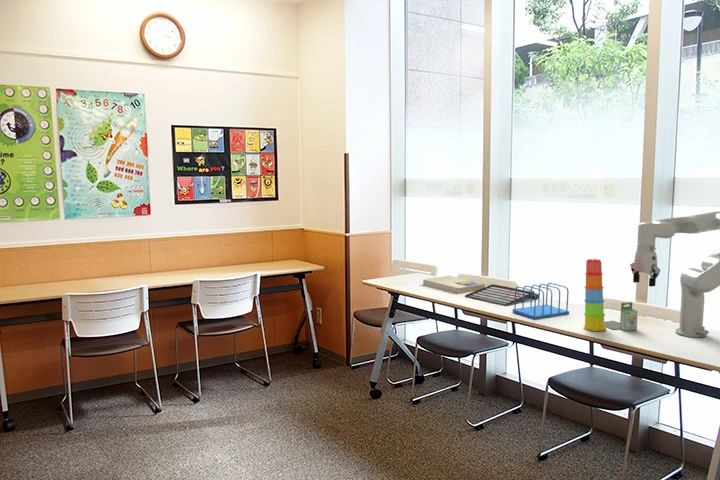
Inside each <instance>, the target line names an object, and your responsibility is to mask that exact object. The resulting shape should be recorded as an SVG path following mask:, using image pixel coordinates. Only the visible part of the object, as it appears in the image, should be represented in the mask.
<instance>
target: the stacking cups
mask: <svg viewBox="0 0 720 480" xmlns="http://www.w3.org/2000/svg"><path fill="white" fill-rule="evenodd" d="M585 264H586V265H585V268H586V269H585V273H584V274H585V285H584V289H585V291H584V292H585V294H584V295H585V298H584V300H583V301H584V306H585V307H584V313H583V315H584V325H583V326H582V327H583V329H584V330H586V331H592V332H603V331H606V329H607V328H606V327H604V322H605V316H606V314H605V312H604V310H605V307H604V303H605V300H604V292H603V291H604V290H603V289H604V286H603V270H602V267H603V266H602V261H601V259H596V258H593V259H587V260H586V263H585Z"/></svg>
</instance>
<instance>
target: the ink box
mask: <svg viewBox="0 0 720 480" xmlns="http://www.w3.org/2000/svg"><path fill="white" fill-rule="evenodd" d="M620 304H621V305H620V322H619V323H620V329H619V330H621V331H623V332H631V331H637V330H638V313H639V311H638V310H636V309H633V301H629V302H621V303H620ZM625 305H627V306H625Z"/></svg>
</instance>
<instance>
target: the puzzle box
mask: <svg viewBox="0 0 720 480" xmlns="http://www.w3.org/2000/svg"><path fill="white" fill-rule="evenodd" d="M422 280H423V281H422V282H423V283H422V284H423V285H422V286H427V287H429V288H434V289H437V290H441V291H445V292H450V293H453V294H458V295H460V294H465V293H467V294H468V293H472V292H474V291H477V290H479V289H482V288H484V287H486V284H485V283H482V282H478V281H474V280H470V279H465V278H461V277H457V276H452V275H445V276H440V277H439V276H438V277H433V278H426V279H422Z"/></svg>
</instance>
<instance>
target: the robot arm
mask: <svg viewBox="0 0 720 480" xmlns="http://www.w3.org/2000/svg"><path fill="white" fill-rule="evenodd" d="M718 230H720V210H717V211H711V212H706V213H700V214H699V213H698V214H694V215H684V216H677V217H668V218H664V219H657V220H654V221H652V222H650V221H648V222H647V221H641V222H640V223H638V226H637V246H636V252H635V255H634V259H633V261H634V262H632V263H630V264H629V265H630V269H631V270H630V271H631V273H632V275H633V276H632V277H633V278H632V282H633V283H634V284H635V283H640V280H641V279H640V276H641V275H640V273H643V274H648V275H649V280H648V286H649V287H652V288H653V287H656V279H657V278H658V276H659V275H660V273H661V269H660V268H659V267H658V256H657V252H656V249H657V248H656V238H657V239H658V238H660V239H670V238H673V237H674V236H675V235H676V234H700V233H704V232H711V231H718ZM679 278H680V279H679V280H680V281H679V282H680V288H681V290H680V291H681V296H680V297H681V299H680V311H679V312H680V313H679V328H676V329H675V333H676V335H677V334H678V335H679V336H682V337H688V338H704V337H706V336H707V335H708V334H709V333H710V331H709V330H707V329H705V326H704V325H703V324H704V311H705V293H710V292H713V291H714V290H715V289H717V288H718V287H720V248H718V249H717V250H715V251H714V252H713V253H711V254H710V255H708V256H707V257H706V258H705V259H703V261H702V262H701V269H699V268H698V269H697V268H693V267H690V268H687V269H684V270H683V272H682V273H681V274H680V277H679Z"/></svg>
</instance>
